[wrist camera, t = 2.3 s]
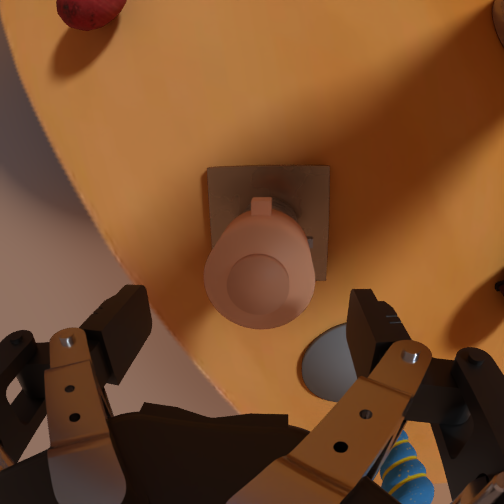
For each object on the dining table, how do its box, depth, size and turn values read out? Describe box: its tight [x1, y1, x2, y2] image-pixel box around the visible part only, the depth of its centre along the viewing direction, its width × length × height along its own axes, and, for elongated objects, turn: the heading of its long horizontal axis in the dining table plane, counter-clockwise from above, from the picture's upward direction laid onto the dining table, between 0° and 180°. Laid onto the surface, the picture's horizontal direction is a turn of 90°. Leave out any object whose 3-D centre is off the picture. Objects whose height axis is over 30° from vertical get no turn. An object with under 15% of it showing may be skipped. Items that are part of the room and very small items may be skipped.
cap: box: [204, 197, 315, 329], centre depth 16 cm, size 5×7×5 cm
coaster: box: [302, 323, 357, 402], centre depth 29 cm, size 10×10×1 cm
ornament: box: [380, 430, 434, 504], centre depth 24 cm, size 5×5×15 cm
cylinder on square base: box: [207, 165, 330, 281], centre depth 22 cm, size 9×9×7 cm
